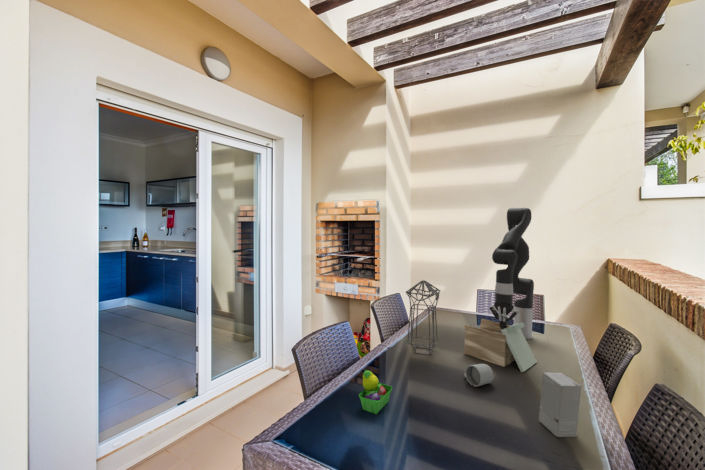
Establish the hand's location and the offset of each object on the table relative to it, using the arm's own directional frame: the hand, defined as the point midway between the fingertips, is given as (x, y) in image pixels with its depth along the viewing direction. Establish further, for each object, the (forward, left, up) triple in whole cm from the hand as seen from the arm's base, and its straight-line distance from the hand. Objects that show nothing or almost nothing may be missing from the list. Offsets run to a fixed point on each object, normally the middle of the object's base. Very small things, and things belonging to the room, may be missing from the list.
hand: (503, 329), depth 147 cm
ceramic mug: (+31, +4, -14) cm, 35 cm away
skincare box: (+40, +34, -14) cm, 54 cm away
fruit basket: (+74, -11, -14) cm, 76 cm away
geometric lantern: (+21, -30, -14) cm, 39 cm away
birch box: (0, -5, -14) cm, 15 cm away
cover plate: (0, +7, -6) cm, 9 cm away
